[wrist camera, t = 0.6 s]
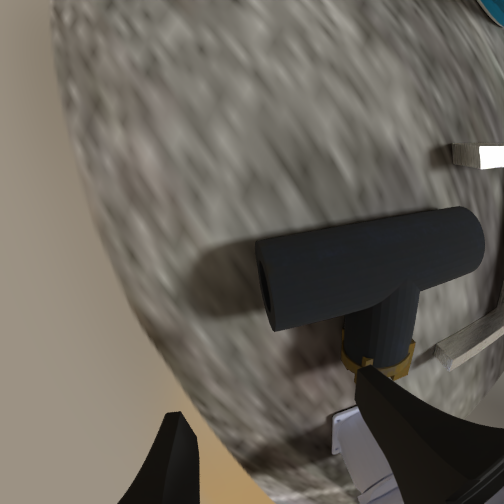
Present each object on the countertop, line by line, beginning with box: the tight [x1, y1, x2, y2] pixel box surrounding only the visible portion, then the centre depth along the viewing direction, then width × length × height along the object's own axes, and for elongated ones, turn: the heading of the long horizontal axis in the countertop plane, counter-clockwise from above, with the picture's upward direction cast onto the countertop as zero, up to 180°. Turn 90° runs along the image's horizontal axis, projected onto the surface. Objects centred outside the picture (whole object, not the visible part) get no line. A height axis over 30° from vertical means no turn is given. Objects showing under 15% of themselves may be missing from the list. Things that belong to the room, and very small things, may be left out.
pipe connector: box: [255, 206, 485, 384], centre depth 17 cm, size 12×5×15 cm
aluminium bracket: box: [434, 143, 504, 371], centre depth 19 cm, size 21×13×3 cm, turn 11°
